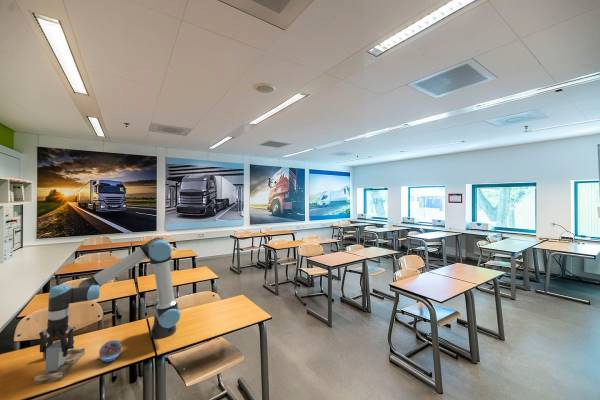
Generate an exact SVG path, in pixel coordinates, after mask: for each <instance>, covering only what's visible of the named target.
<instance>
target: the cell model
mask: <svg viewBox="0 0 600 400" xmlns="http://www.w3.org/2000/svg"><path fill="white" fill-rule="evenodd" d="M122 346H123V344H121V342H120V341H119V340H117V339H111V340H108V341H107V342H105V343H104V344H103V345H101V347H100V349H99V351H98V353H99V355H98V357H99V359H100V361H102V362H105V363H111V362H113V361H114V360H116V359H117V358H118V357H120V356H119V355H120V354H121V353H122Z"/></svg>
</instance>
